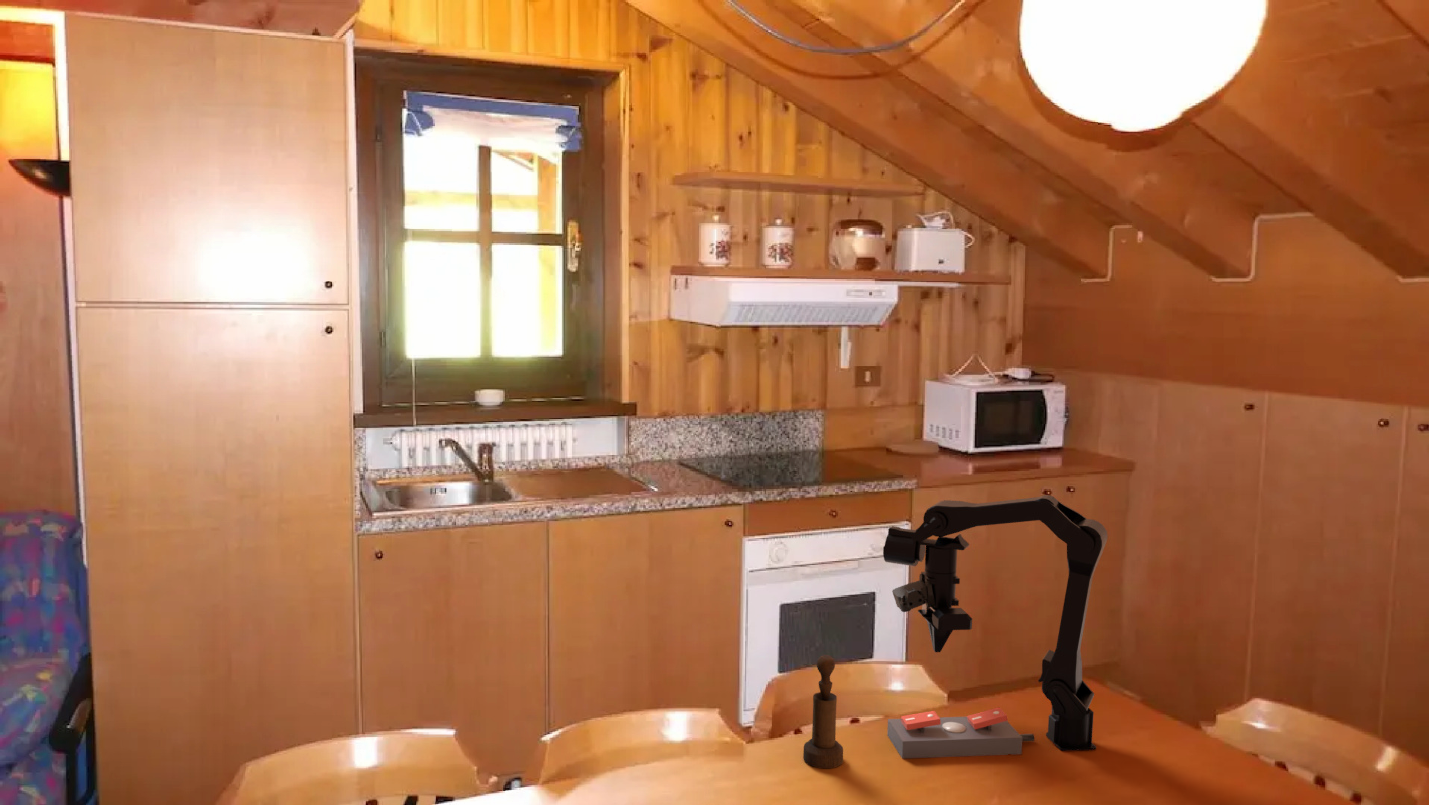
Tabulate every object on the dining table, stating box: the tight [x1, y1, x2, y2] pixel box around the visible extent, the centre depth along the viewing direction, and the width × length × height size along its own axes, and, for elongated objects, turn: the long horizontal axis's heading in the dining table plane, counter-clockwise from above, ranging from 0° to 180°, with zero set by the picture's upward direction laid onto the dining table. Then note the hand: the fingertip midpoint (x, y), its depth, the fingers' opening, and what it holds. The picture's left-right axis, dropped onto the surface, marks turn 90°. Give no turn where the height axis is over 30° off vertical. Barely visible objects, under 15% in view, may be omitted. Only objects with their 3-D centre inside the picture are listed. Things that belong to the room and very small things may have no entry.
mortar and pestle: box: [802, 654, 844, 769], centre depth 170 cm, size 7×6×18 cm
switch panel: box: [886, 716, 1035, 759], centre depth 177 cm, size 25×9×4 cm, turn 96°
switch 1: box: [900, 710, 941, 730], centre depth 176 cm, size 6×3×1 cm, turn 96°
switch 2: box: [966, 706, 1008, 729], centre depth 178 cm, size 6×3×1 cm, turn 96°
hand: (937, 651), depth 189 cm, fingers closed
